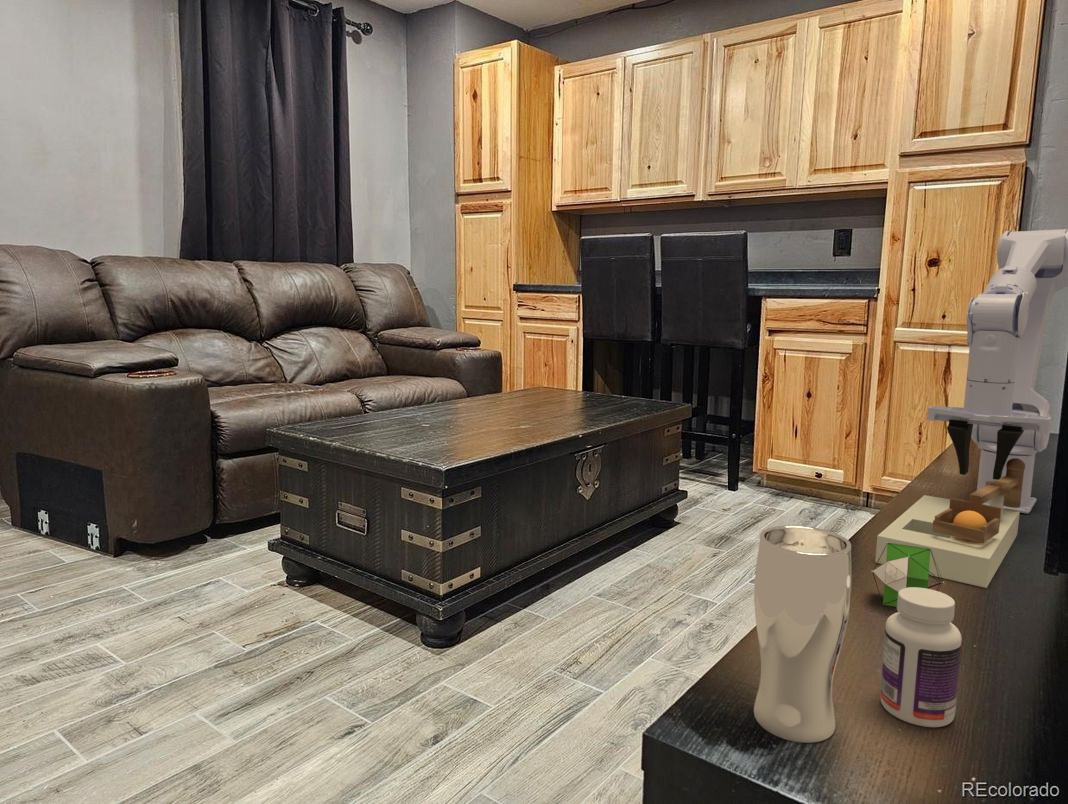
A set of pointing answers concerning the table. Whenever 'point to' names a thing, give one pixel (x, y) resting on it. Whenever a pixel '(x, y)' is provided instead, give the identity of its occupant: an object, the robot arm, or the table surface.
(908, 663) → the pill bottle
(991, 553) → the cream shape sorter
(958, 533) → the lever
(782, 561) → the beer glass
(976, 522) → the ball
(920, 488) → the table surface
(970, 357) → the robot arm
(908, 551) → the geometric puzzle
